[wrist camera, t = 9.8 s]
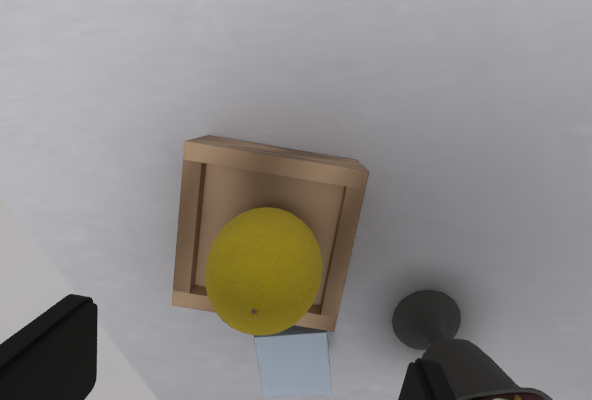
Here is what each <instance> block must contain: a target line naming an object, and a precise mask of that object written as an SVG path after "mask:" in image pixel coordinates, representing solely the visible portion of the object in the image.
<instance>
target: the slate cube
mask: <svg viewBox="0 0 592 400" xmlns="http://www.w3.org/2000/svg"><path fill="white" fill-rule="evenodd" d="M254 341H255V347H256V353H257V359H258V366H259V372H260V378H261V384H262V391H263V397H279V396H295V395H310V394H326V393H332V383H331V371H330V360H329V348H328V338H327V331H326V330H320V329H314V328H308V327H301V326H295V325H293V326H292V327H290V328H288V329H286V330H284V331H282V332H279V333H275V334H271V335H255V336H254Z"/></svg>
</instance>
